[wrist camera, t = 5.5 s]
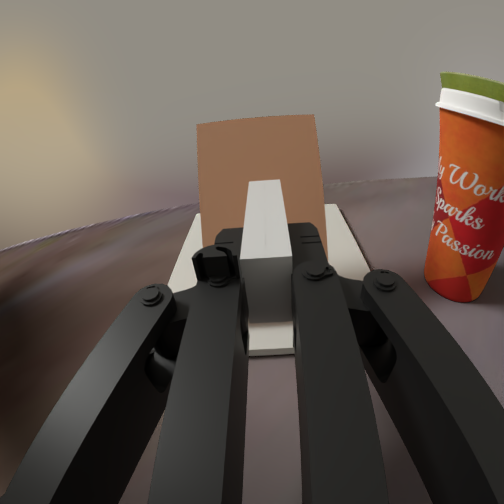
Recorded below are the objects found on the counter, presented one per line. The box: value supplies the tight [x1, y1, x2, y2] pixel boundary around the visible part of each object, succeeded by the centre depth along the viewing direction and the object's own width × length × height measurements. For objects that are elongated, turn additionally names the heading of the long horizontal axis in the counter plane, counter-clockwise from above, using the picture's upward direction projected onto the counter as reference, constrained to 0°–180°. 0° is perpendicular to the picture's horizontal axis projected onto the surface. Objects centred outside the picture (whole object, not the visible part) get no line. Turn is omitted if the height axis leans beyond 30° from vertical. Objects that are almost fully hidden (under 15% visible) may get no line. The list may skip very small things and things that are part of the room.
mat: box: [167, 204, 370, 356], centre depth 23 cm, size 15×18×1 cm
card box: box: [197, 115, 328, 260], centre depth 17 cm, size 7×3×11 cm
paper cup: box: [424, 88, 504, 302], centre depth 14 cm, size 8×8×14 cm
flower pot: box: [440, 72, 504, 102], centre depth 20 cm, size 15×15×16 cm
